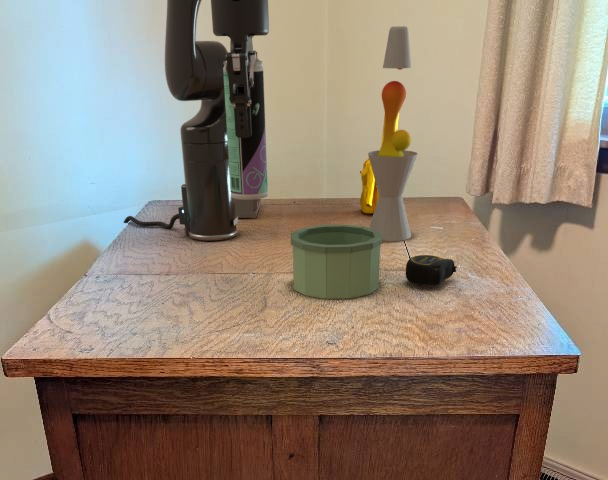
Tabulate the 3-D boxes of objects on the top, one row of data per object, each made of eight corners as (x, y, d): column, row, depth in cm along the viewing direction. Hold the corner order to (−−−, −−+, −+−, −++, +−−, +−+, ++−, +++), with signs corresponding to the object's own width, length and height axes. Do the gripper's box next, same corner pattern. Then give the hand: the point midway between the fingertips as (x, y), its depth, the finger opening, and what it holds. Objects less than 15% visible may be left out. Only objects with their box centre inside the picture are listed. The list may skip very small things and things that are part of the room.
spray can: (262, 200, 104) (256, 40, 94) (226, 199, 105) (216, 41, 94) (271, 193, 108) (266, 40, 98) (236, 192, 109) (228, 40, 99)
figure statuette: (359, 204, 166) (362, 98, 154) (393, 204, 165) (399, 97, 154) (357, 221, 150) (360, 105, 139) (395, 221, 150) (401, 105, 139)
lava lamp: (359, 239, 137) (365, 26, 119) (373, 228, 144) (381, 26, 127) (405, 243, 134) (418, 26, 116) (417, 232, 142) (431, 26, 124)
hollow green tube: (275, 291, 110) (273, 240, 106) (317, 268, 121) (317, 221, 117) (356, 304, 104) (358, 251, 100) (393, 279, 115) (395, 230, 111)
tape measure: (437, 292, 109) (439, 268, 107) (397, 285, 112) (398, 261, 110) (455, 281, 114) (457, 257, 112) (416, 274, 117) (417, 251, 115)
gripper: (218, -4, 100) (227, 129, 109) (201, -9, 88) (212, 141, 96) (272, -5, 100) (276, 128, 108) (262, -10, 87) (267, 141, 96)
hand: (246, 134), depth 102 cm, fingers closed on spray can, 5 cm apart
